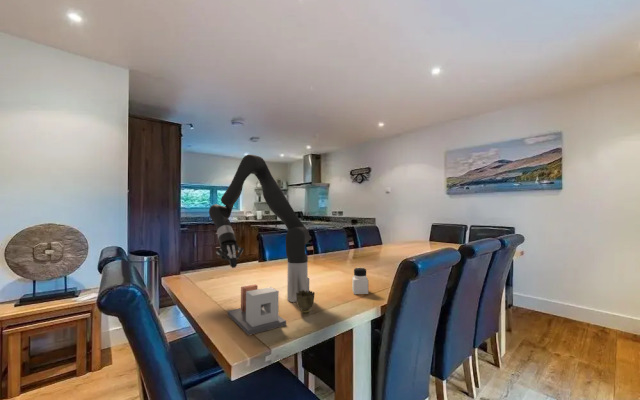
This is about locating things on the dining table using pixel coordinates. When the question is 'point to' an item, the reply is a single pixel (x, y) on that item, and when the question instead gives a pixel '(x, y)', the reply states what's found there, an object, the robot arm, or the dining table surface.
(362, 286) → the medicine bottle
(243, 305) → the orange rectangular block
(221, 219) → the robot arm
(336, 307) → the dining table surface
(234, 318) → the peg hole fixture
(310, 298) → the cup
